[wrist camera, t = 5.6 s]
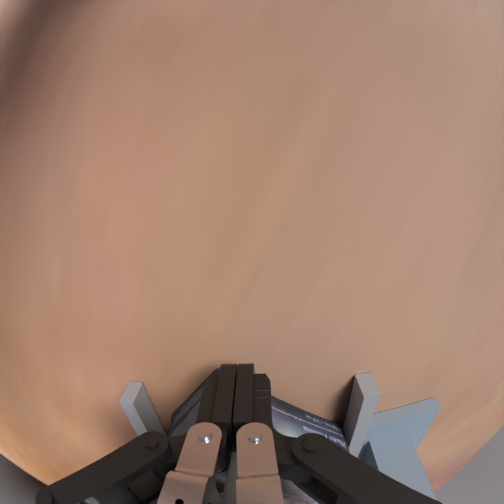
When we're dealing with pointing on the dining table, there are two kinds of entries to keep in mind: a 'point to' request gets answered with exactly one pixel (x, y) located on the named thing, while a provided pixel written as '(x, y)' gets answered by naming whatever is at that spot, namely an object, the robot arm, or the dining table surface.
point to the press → (355, 428)
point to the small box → (284, 421)
